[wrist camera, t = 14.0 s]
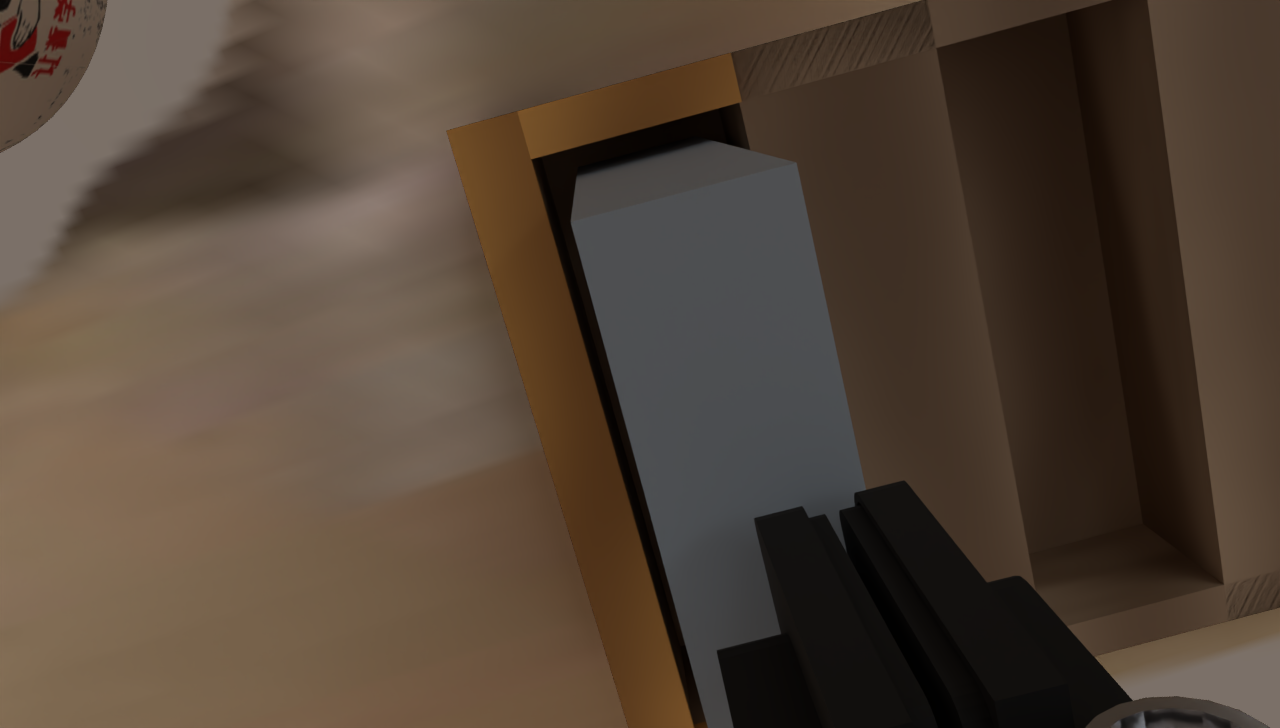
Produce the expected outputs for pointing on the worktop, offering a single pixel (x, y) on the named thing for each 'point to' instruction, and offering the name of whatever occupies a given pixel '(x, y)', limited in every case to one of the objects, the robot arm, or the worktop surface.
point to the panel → (717, 371)
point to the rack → (961, 298)
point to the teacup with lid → (42, 59)
